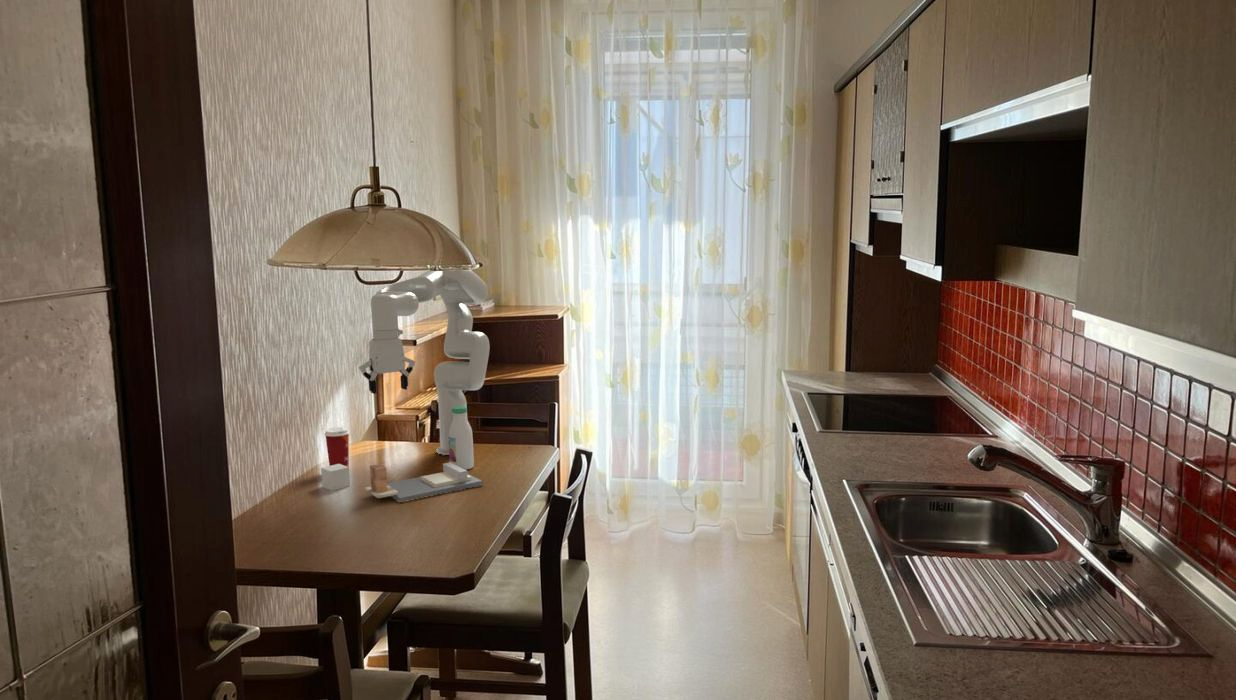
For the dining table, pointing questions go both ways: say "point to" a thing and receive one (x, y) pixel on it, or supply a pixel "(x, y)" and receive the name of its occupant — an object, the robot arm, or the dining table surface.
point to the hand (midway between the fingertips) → (389, 390)
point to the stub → (379, 482)
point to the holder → (434, 483)
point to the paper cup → (338, 445)
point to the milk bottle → (461, 439)
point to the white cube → (335, 477)
